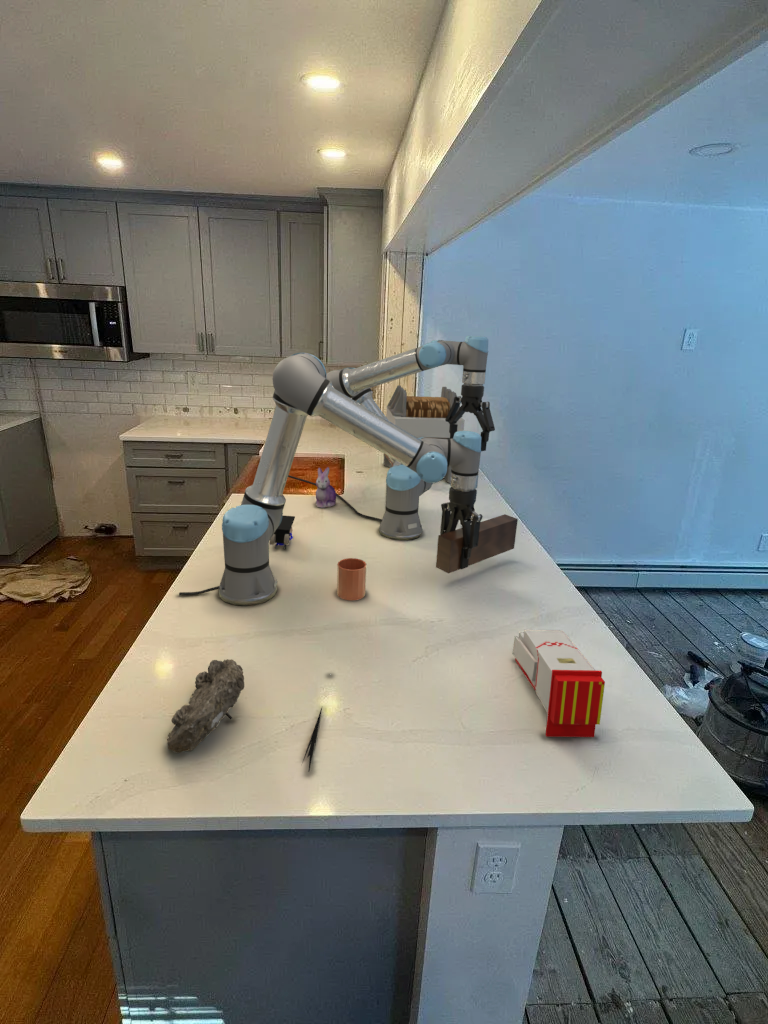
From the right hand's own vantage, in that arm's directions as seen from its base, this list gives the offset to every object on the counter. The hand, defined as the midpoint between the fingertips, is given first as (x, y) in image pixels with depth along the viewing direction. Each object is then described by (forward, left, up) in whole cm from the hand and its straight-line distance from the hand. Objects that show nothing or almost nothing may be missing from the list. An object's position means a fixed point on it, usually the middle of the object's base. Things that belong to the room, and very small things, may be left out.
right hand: (467, 446), depth 196 cm
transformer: (-62, +39, -31) cm, 80 cm away
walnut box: (+28, -24, -25) cm, 45 cm away
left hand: (+28, -33, -25) cm, 50 cm away
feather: (+53, -98, -31) cm, 115 cm away
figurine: (-49, -25, -31) cm, 63 cm away
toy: (+75, -55, -31) cm, 98 cm away
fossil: (+40, -114, -31) cm, 124 cm away
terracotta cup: (+16, -62, -31) cm, 71 cm away
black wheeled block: (-25, -59, -31) cm, 71 cm away
